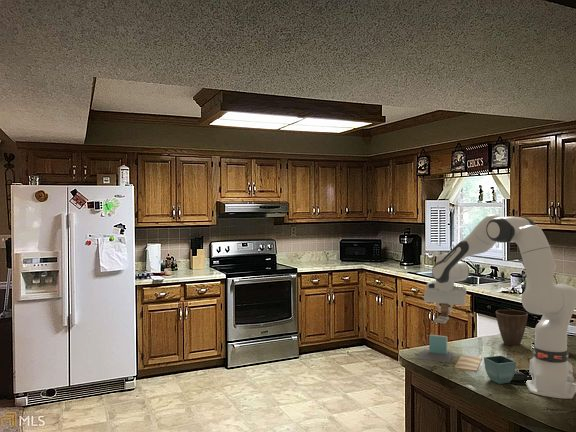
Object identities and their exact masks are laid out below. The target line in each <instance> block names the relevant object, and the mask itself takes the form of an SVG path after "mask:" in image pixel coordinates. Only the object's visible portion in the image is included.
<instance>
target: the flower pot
mask: <svg viewBox="0 0 576 432" xmlns="http://www.w3.org/2000/svg"><path fill="white" fill-rule="evenodd" d="M483 362H484V363H483V364H484V369H485V372H486V374H487V377H488V378H489V380H490V381H493V382H494V383H495V384H499V385H501V384H503V385H504V384H509V383H510V382H511V381H512V379H513V378H514V375H515V371H516V366H517V365H516V364H517V361H516V360H513V359H511V358H508V357H506V356H504V355H493V356H485V357H484V356H483Z"/></svg>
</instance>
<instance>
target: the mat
mask: <svg viewBox="0 0 576 432" xmlns="http://www.w3.org/2000/svg"><path fill="white" fill-rule="evenodd" d="M454 355H455V352H449V351H447V354H441V353H433V352H429V348H428V349H427V348H425V349H423V350H422V352H421V353H420V354H419V355H418V357H417V359H420V360H421V359H422V360H428V361H437V362H443V363H450V361H451V360H452V358H453V357H454Z"/></svg>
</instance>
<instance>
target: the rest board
mask: <svg viewBox="0 0 576 432" xmlns="http://www.w3.org/2000/svg"><path fill="white" fill-rule="evenodd" d="M482 360H483V357H482V356H474V355H468V354H467V355H465V354H461V355H460V357H458V360H457V362H456V364H455V366H454V370H458V371H459V370H461V371H467V372H474V373H477V372H478V369H479V366H480V364H481V361H482Z"/></svg>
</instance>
